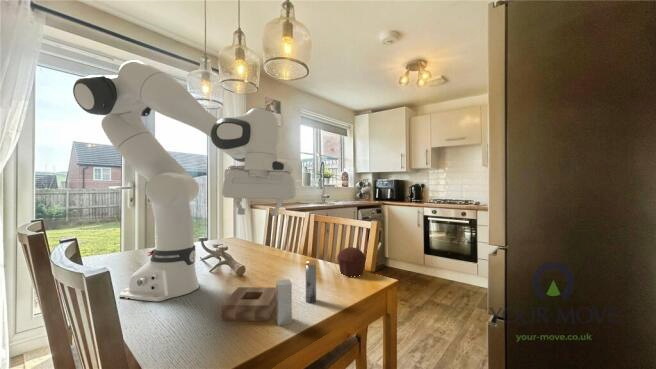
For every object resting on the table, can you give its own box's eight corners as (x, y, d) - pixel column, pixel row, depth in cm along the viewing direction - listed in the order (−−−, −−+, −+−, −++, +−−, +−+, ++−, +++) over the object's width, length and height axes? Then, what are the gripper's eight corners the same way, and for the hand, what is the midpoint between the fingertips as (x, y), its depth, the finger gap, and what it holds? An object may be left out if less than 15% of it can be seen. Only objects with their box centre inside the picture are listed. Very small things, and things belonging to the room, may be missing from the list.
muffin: (332, 271, 108) (332, 246, 108) (356, 267, 112) (356, 244, 112) (346, 280, 97) (346, 253, 97) (371, 276, 101) (371, 250, 101)
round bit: (305, 303, 78) (305, 262, 78) (306, 298, 81) (306, 259, 81) (316, 303, 78) (315, 262, 78) (316, 298, 81) (316, 259, 81)
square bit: (278, 325, 66) (278, 285, 66) (276, 319, 69) (276, 280, 69) (291, 323, 67) (291, 283, 67) (289, 317, 70) (289, 279, 70)
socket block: (221, 320, 68) (221, 305, 68) (238, 300, 80) (238, 287, 80) (268, 321, 68) (268, 305, 68) (277, 300, 80) (277, 287, 80)
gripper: (219, 163, 72) (215, 213, 71) (293, 164, 71) (290, 216, 69) (230, 167, 79) (226, 214, 77) (298, 168, 77) (295, 216, 75)
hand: (257, 215), depth 73 cm, fingers open, 8 cm apart
